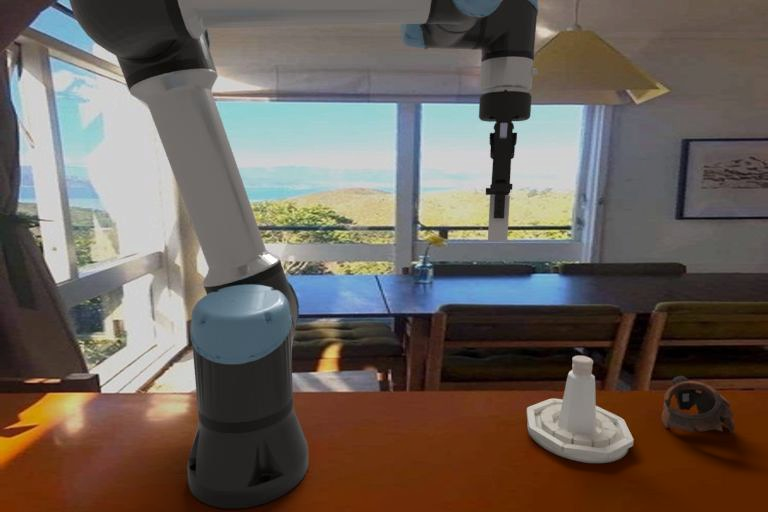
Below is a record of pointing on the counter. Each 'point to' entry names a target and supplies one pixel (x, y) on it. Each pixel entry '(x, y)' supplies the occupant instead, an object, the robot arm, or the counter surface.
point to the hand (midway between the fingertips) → (497, 234)
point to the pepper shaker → (579, 399)
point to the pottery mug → (708, 406)
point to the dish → (596, 448)
